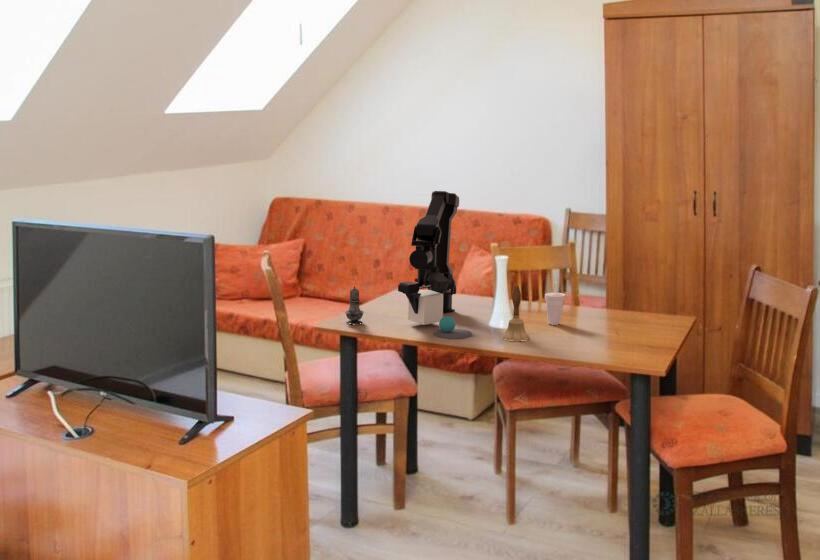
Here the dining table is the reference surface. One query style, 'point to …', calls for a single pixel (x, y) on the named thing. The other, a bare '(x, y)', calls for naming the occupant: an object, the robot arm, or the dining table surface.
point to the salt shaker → (354, 308)
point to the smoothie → (554, 306)
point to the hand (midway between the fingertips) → (426, 311)
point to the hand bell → (516, 320)
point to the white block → (427, 308)
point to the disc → (453, 334)
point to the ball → (447, 324)
